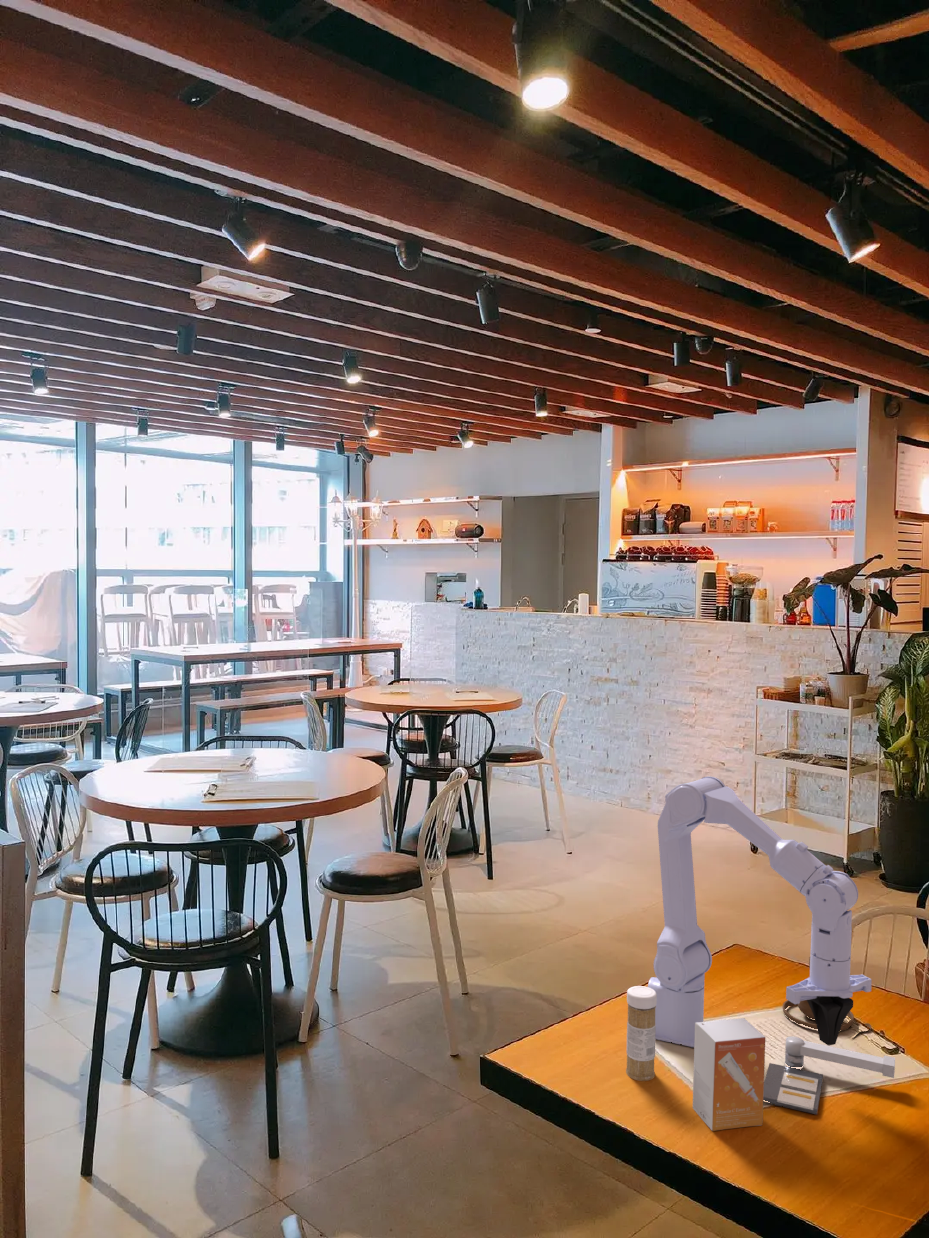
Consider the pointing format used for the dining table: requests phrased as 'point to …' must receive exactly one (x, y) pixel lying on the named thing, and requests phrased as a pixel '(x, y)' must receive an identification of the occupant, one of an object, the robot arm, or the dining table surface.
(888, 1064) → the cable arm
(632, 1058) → the sprinkles bottle
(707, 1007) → the dining table surface
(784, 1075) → the grey flat block
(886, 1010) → the dining table surface
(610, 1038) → the dining table surface
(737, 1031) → the small box
